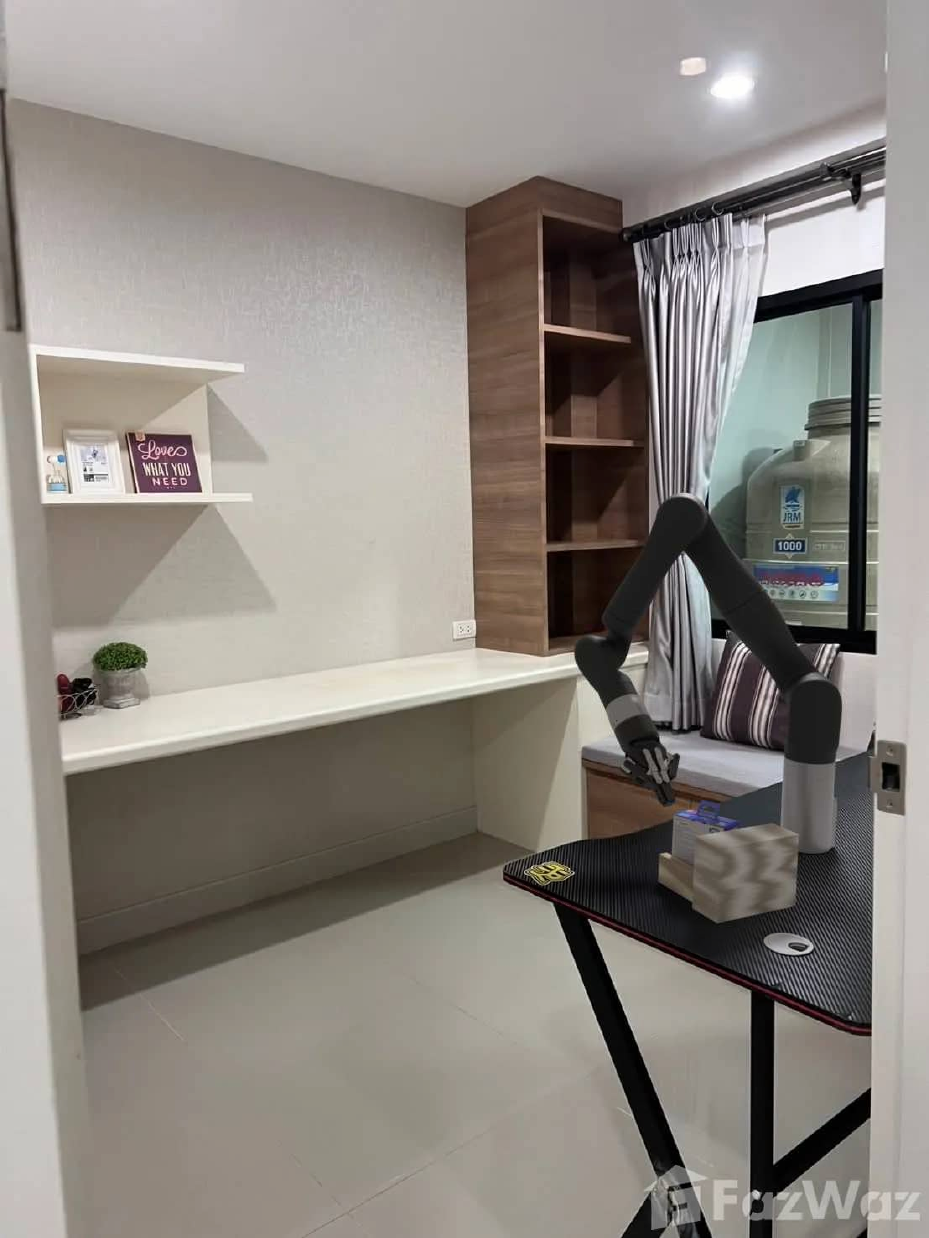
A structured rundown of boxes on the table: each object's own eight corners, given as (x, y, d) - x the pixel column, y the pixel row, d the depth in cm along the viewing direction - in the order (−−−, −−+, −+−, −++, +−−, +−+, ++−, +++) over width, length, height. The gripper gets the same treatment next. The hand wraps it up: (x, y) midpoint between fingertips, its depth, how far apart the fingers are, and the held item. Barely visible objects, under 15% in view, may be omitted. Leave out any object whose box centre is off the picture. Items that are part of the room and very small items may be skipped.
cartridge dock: (724, 868, 166) (727, 803, 164) (795, 905, 150) (798, 834, 149) (651, 883, 159) (653, 815, 157) (717, 923, 144) (720, 848, 142)
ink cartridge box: (737, 890, 156) (741, 807, 155) (721, 899, 152) (725, 814, 151) (686, 873, 163) (689, 794, 161) (669, 882, 159) (672, 801, 158)
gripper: (610, 715, 170) (648, 799, 161) (669, 709, 176) (709, 789, 166) (594, 737, 176) (630, 819, 166) (651, 730, 181) (689, 809, 172)
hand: (669, 804), depth 166 cm, fingers closed
